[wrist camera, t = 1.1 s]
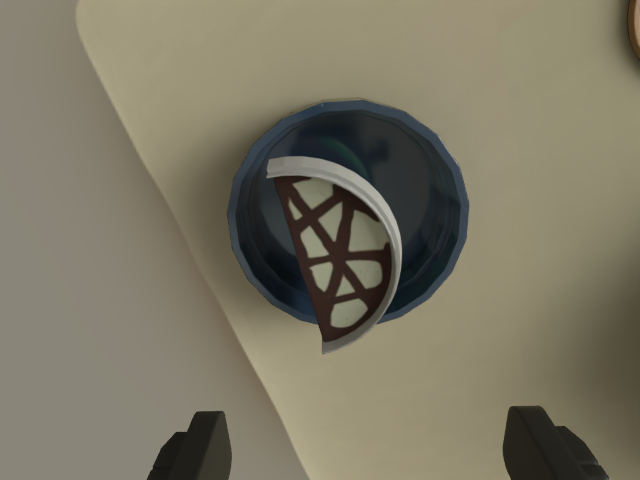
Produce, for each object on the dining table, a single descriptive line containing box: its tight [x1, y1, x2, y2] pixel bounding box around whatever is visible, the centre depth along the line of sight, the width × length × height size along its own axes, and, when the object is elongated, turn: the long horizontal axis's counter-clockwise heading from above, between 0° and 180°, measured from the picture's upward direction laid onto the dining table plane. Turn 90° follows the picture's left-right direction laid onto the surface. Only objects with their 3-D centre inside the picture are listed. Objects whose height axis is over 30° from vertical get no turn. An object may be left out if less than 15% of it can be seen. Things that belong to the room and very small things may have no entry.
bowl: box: [227, 98, 469, 325], centre depth 29 cm, size 16×16×5 cm
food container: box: [267, 156, 402, 355], centre depth 26 cm, size 12×6×10 cm, turn 15°
